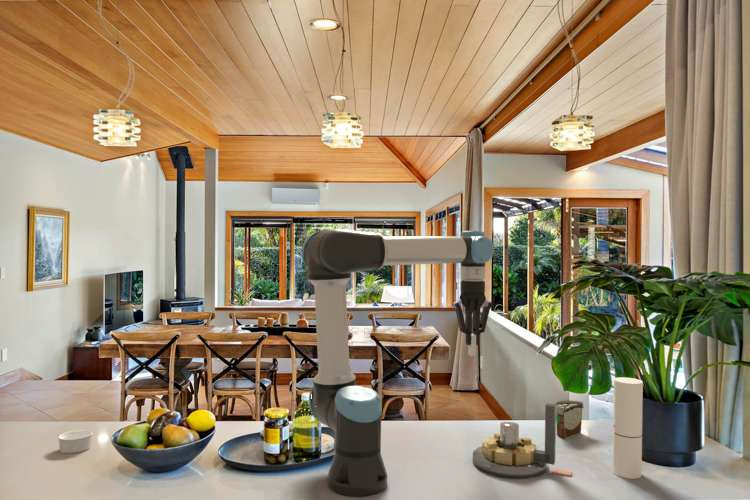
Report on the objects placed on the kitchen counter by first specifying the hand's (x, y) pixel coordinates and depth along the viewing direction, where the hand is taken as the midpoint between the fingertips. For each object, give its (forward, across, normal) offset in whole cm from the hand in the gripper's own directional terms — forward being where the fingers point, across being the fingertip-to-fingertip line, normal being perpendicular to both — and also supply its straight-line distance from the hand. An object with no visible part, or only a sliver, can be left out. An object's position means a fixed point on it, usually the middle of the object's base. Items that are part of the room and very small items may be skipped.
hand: (471, 355), depth 176 cm
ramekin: (+27, -117, +18) cm, 121 cm away
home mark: (+26, +13, -30) cm, 42 cm away
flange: (+26, +2, -21) cm, 34 cm away
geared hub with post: (+24, +4, -23) cm, 33 cm away
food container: (+27, +32, -2) cm, 42 cm away
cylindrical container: (+27, +30, -34) cm, 53 cm away
